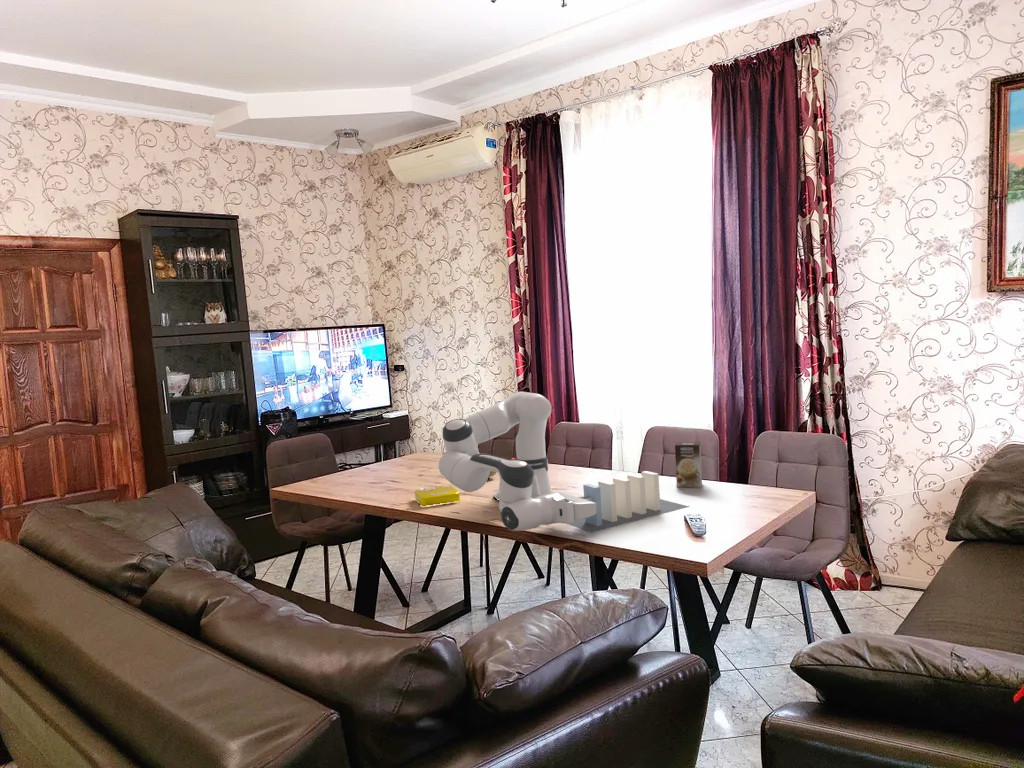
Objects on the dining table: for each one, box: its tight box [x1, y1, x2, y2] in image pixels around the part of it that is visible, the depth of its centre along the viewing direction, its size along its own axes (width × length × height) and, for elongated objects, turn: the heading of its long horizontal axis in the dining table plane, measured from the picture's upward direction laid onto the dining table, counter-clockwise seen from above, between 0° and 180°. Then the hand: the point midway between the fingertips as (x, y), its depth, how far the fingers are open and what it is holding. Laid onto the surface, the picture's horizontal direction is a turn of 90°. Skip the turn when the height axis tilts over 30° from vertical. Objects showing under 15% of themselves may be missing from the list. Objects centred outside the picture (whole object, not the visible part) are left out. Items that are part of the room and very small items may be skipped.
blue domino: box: [582, 483, 602, 526], centre depth 217 cm, size 2×6×12 cm, turn 31°
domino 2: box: [612, 477, 632, 518], centre depth 223 cm, size 2×6×12 cm, turn 30°
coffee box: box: [674, 441, 703, 488], centre depth 260 cm, size 9×6×16 cm
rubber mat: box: [568, 498, 690, 534], centre depth 228 cm, size 40×22×1 cm, turn 121°
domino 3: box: [626, 473, 646, 514], centre depth 226 cm, size 2×6×12 cm, turn 30°
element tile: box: [414, 484, 461, 506], centre depth 266 cm, size 15×15×5 cm
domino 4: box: [640, 470, 661, 511], centre depth 229 cm, size 2×6×12 cm, turn 30°
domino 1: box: [597, 480, 617, 522], centre depth 220 cm, size 2×6×12 cm, turn 30°
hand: (589, 499), depth 217 cm, fingers closed, pressing on blue domino
